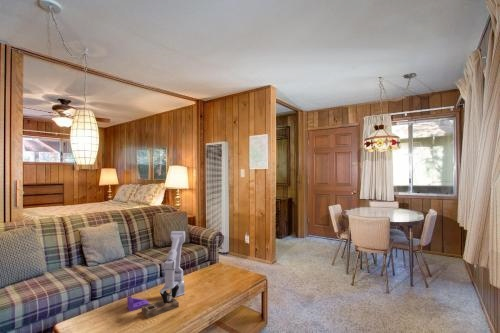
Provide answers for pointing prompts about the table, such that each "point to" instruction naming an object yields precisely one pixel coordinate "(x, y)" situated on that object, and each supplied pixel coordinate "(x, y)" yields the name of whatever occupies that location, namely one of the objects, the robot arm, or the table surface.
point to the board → (159, 307)
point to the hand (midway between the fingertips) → (169, 300)
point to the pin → (169, 297)
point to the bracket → (135, 303)
